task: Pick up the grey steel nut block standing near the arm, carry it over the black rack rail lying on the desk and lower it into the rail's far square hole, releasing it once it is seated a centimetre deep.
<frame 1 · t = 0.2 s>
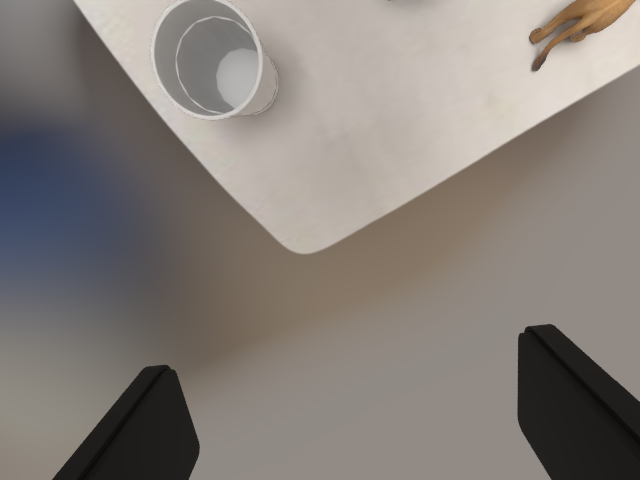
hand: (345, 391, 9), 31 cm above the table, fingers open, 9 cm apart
cup: (248, 82, 36), on the table
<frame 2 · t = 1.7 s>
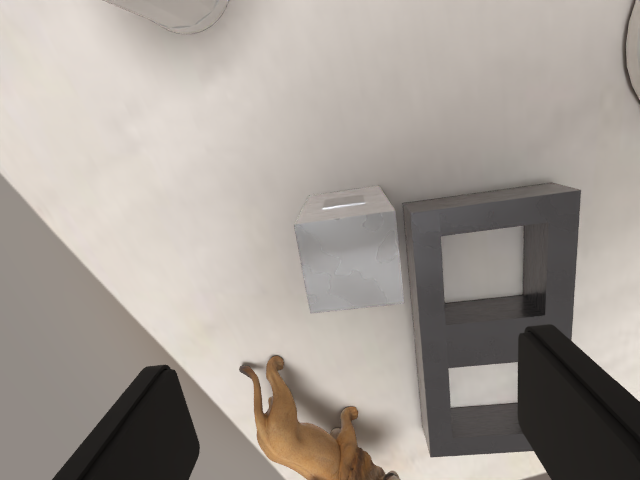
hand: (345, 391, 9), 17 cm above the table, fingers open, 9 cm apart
nut block: (348, 224, 25), on the table
rail: (478, 320, 27), on the table
lion figurine: (323, 400, 31), on the table
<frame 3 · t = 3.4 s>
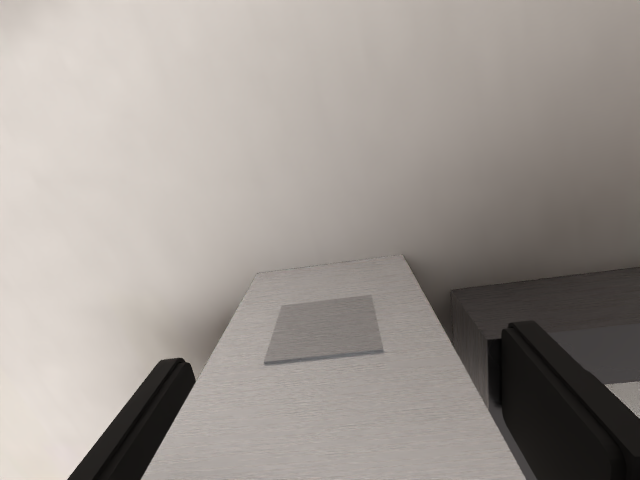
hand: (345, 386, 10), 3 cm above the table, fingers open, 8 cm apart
nut block: (338, 328, 13), on the table
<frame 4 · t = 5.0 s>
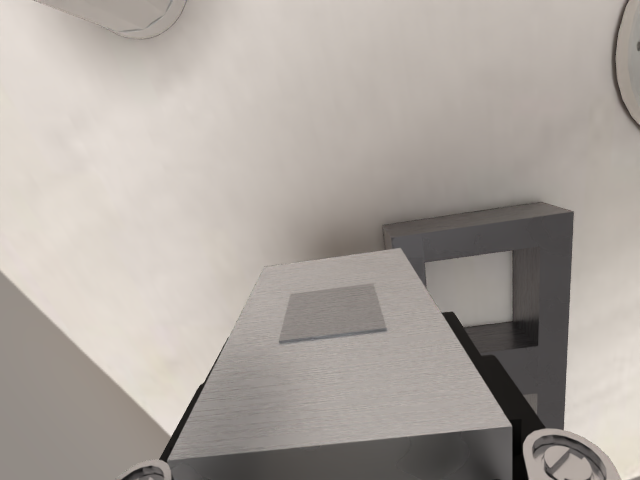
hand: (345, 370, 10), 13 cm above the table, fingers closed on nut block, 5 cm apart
nut block: (340, 318, 13), point 10 cm above the table, touching gripper
rail: (466, 349, 25), on the table
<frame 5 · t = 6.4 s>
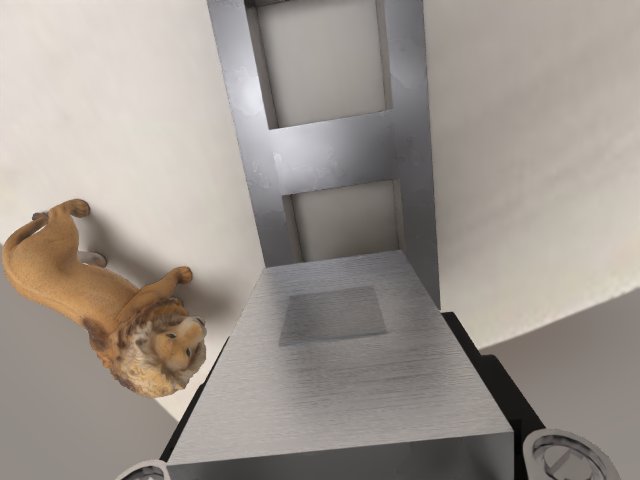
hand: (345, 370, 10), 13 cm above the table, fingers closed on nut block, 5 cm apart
nut block: (340, 319, 13), point 10 cm above the table, touching gripper
rail: (335, 150, 21), on the table
lion figurine: (150, 261, 25), on the table
when the fingers open (4 cm above the table, at t = 8.2 s): nut block drops 1 cm, resting in rail.
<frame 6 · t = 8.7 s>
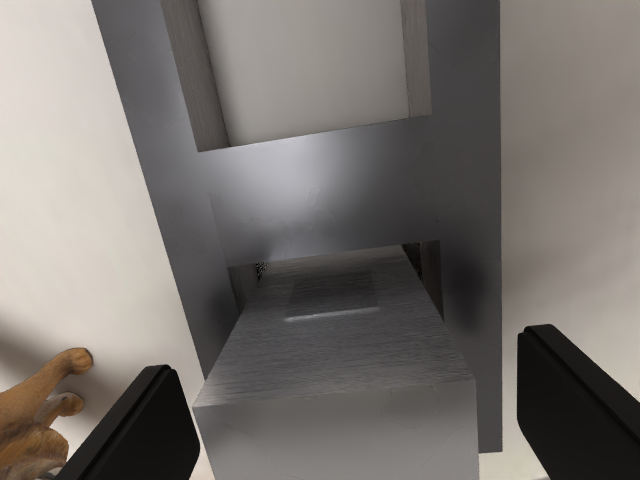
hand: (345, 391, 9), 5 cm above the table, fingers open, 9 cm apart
nut block: (342, 304, 14), resting in rail
rail: (324, 182, 13), on the table
lion figurine: (28, 339, 16), on the table
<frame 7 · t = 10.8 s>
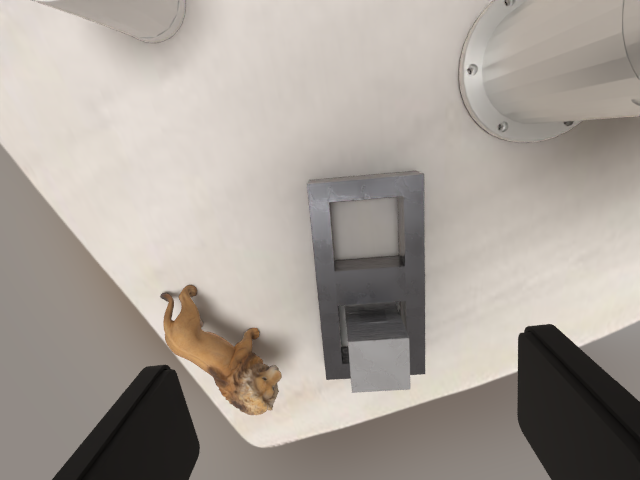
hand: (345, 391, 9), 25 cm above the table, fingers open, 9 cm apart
nut block: (369, 318, 37), resting in rail
rail: (367, 274, 36), on the table
cup: (149, 1, 29), on the table
lion figurine: (231, 323, 38), on the table
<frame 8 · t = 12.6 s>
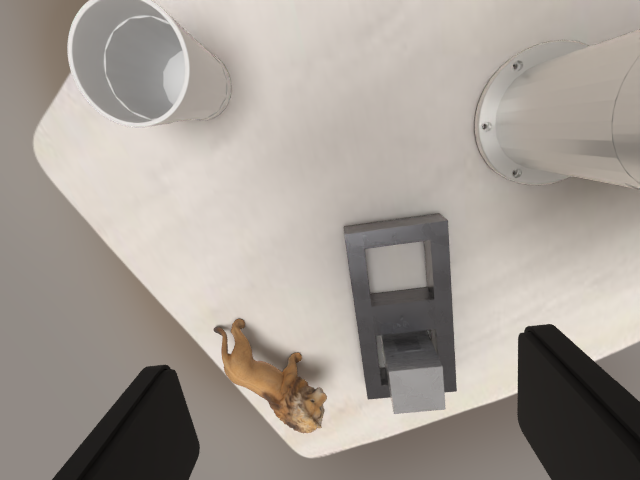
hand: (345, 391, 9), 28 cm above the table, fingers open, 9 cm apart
nut block: (402, 342, 41), resting in rail
rail: (399, 304, 40), on the table
cup: (199, 86, 34), on the table
lion figurine: (276, 349, 43), on the table
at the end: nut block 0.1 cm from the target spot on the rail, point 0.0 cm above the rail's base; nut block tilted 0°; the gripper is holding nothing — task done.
